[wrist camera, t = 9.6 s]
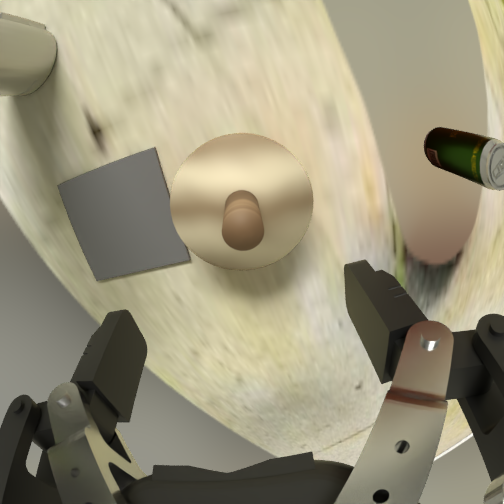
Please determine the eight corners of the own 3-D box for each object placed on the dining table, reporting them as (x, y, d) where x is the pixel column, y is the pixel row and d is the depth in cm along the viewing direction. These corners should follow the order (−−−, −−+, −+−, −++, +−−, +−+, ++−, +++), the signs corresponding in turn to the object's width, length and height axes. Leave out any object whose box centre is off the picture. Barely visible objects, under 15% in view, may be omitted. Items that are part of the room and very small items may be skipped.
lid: (154, 154, 24) (129, 167, 18) (297, 120, 24) (318, 121, 18) (194, 277, 30) (185, 319, 24) (319, 250, 29) (339, 287, 23)
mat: (59, 184, 30) (57, 185, 30) (155, 147, 30) (154, 147, 29) (98, 279, 36) (96, 281, 36) (190, 258, 36) (189, 259, 35)
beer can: (433, 174, 32) (495, 203, 21) (415, 141, 30) (479, 159, 19) (456, 151, 31) (519, 173, 20) (439, 118, 29) (505, 130, 18)
